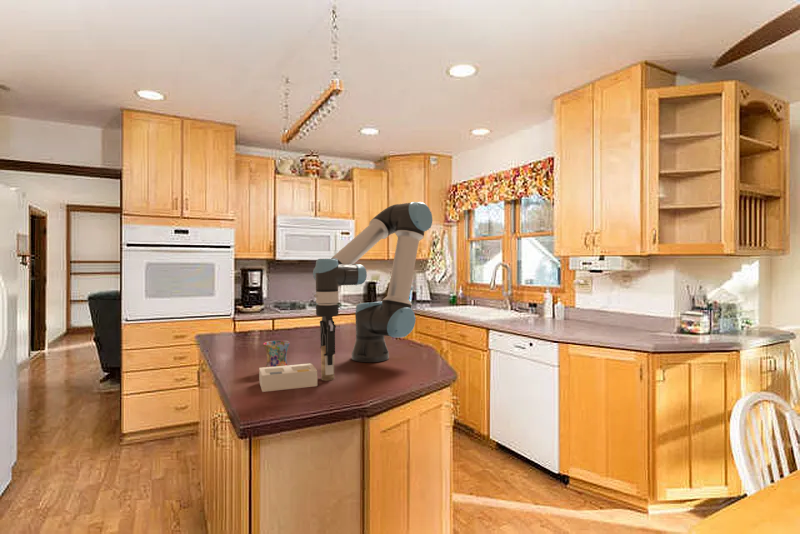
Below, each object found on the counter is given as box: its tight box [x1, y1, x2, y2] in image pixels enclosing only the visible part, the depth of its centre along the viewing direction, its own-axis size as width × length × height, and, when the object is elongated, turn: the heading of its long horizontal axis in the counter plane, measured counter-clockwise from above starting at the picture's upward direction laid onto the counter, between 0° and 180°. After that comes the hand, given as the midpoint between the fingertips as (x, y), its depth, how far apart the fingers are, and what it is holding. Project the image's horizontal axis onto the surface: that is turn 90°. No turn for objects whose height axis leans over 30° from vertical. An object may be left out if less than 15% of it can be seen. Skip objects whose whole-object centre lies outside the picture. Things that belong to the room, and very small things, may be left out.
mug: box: [262, 340, 290, 367], centre depth 167 cm, size 12×9×11 cm
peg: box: [320, 345, 335, 381], centre depth 155 cm, size 4×4×11 cm
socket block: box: [258, 363, 318, 393], centre depth 149 cm, size 17×11×5 cm, turn 111°
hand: (327, 372), depth 155 cm, fingers closed on peg, 4 cm apart
